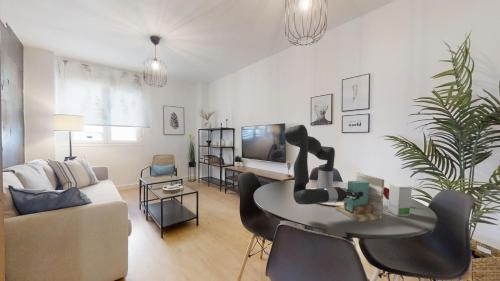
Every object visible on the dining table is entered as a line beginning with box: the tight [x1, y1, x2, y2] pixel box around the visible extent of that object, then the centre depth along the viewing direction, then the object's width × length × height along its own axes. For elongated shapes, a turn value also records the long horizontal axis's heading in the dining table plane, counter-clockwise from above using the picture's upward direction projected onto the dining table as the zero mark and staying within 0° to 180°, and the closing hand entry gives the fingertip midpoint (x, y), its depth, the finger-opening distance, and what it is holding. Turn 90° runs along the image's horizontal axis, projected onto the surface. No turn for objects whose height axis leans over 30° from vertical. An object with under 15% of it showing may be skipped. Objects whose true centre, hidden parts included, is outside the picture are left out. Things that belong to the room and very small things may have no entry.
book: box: [346, 180, 369, 212], centre depth 109 cm, size 10×4×15 cm, turn 107°
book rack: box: [334, 172, 385, 223], centre depth 109 cm, size 15×16×20 cm
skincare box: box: [387, 183, 413, 217], centre depth 111 cm, size 8×7×16 cm
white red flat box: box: [383, 186, 414, 201], centre depth 125 cm, size 3×18×10 cm, turn 68°
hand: (359, 192), depth 109 cm, fingers closed on book, 4 cm apart
